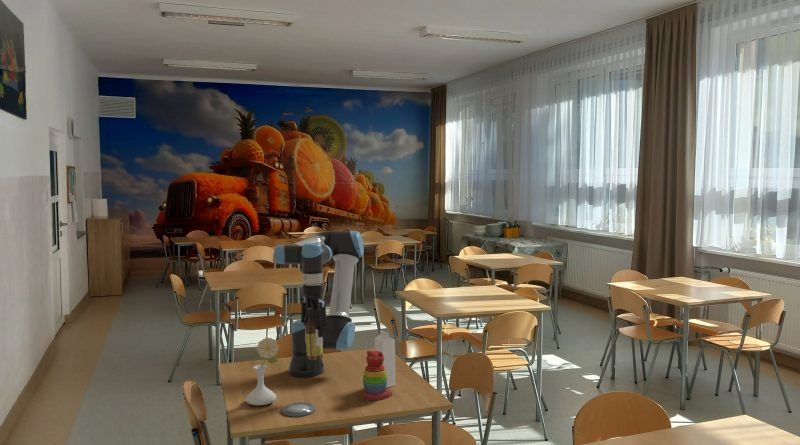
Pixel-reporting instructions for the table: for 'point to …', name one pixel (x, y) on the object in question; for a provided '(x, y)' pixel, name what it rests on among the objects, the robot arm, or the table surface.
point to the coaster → (298, 409)
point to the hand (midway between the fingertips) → (314, 343)
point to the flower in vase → (261, 393)
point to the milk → (387, 355)
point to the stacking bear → (375, 377)
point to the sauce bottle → (312, 338)
